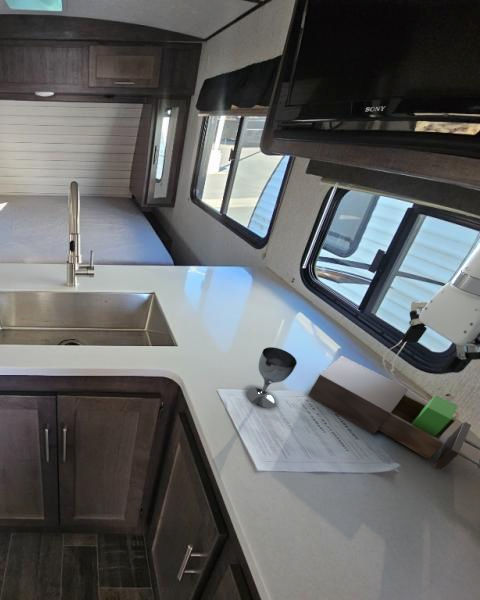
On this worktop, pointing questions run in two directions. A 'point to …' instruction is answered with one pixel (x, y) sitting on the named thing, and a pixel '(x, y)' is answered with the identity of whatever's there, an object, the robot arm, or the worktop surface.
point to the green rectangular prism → (435, 415)
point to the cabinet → (357, 393)
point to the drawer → (425, 433)
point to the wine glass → (271, 374)
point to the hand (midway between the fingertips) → (428, 355)
